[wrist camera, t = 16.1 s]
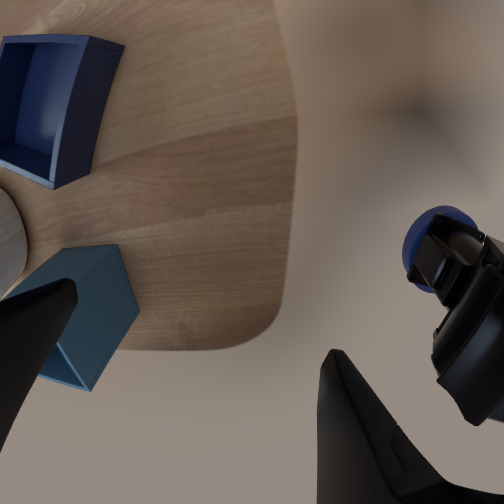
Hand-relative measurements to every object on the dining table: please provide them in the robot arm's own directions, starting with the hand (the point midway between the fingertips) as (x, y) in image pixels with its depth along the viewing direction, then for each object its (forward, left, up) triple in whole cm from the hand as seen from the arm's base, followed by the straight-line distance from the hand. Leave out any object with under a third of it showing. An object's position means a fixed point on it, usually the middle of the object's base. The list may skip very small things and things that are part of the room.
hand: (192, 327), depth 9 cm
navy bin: (+17, -6, -12) cm, 22 cm away
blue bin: (+12, +10, -12) cm, 20 cm away
